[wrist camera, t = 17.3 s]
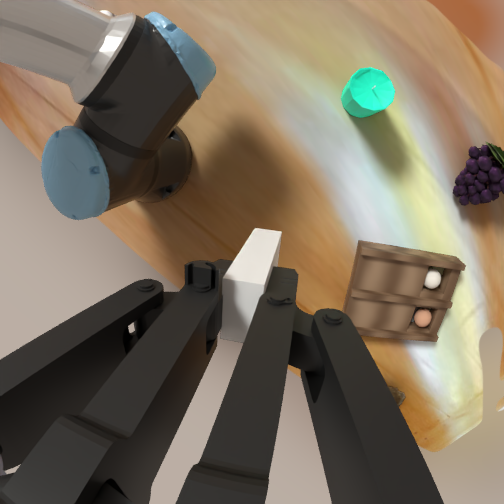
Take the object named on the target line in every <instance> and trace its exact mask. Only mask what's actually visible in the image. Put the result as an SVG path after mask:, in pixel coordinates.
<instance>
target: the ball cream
mask: <svg viewBox="0 0 504 504" xmlns="http://www.w3.org/2000/svg"><path fill="white" fill-rule="evenodd" d="M440 282H441V275H440V273H439V271H438V270H436V269H433V268H431V269H428V272H427V275H426V278H425V281H424V285H425V286H426V287H427V288H430V289H433V288H436V287H437V286H438V285H439V284H440Z"/></svg>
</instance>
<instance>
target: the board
mask: <svg viewBox="0 0 504 504" xmlns="http://www.w3.org/2000/svg"><path fill="white" fill-rule="evenodd" d="M429 266H435V267H441V268H444V271H443V274H442V277H441V282H440V284H439V286H438V287H436V288H433V289H430V288H427V287H426V286H425V285H424V281H425V278H426V275H427V272H428V268H429ZM465 267H466V265H465V264H464V263H463V262H461V261H460V260H459V259H458V258H457V257H455V256H449V255H444V254H438V253H433V252H427V251H421V250H415V249H409V248H404V247H398V246H392V245H385V244H379V243H373V242H367V241H360V240H359V241H358V246H357V251H356V255H355V260H354V265H353V269H352V273H351V278H350V282H349V286H348V290H347V294H346V298H345V302H344V306H343V310H342V312H343V313H345V314H347V315H348V316H349V318H350V319H351V320H352V322H353V324H354V326H355V327H356V329H357V331H358V333H359V334H360V335H362V336H372V337H382V338H393V339H405V340H418V341H433V342H437V340H438V338H439V337H438V336H437V332H438V330H439V327H440V325H441V323H442V320H443V318H444V315H445V313H446V310H447V308H451V307H452V302H451V301H450V300H451V297H452V294H453V292H454V289H455V286H456V283H457V280H458V277H459V274H460V271H461V270H462V271H464V270H465ZM416 307H424V308H431V309H430V313H431V316H432V318H431V322H430V323H429V324H428V325H427V326H425V327H419V326H418V325H416V323H415V322H411V319H412V316H413V314H414V311H415V308H416Z"/></svg>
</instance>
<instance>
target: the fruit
mask: <svg viewBox="0 0 504 504" xmlns="http://www.w3.org/2000/svg"><path fill="white" fill-rule="evenodd" d="M486 143H487V142H486ZM479 149H481V151H480V150H479ZM469 156H470V157H471V158H472V159H469V160H467V161H466V167H465V169H464V171H463V170H462V171H461V172H460V175H458V177H457V178H456V180H455V184H456V186H455V187H454V189H453V194H454V195H455V196H456V197H459V196H461V197H460V199H459V202H460V203H461V205H464V206H465V205H467V204H468V203H469V201H470V202H471V204H474V205H477V204H479V203H480V204H481V203H488V202H491V200H493V201H494V200H495V199H497V198H498V197H499V192H500V191H502V193H503V194H504V151H502V149H501V148H500V147H499V148H498V147H497V146H494V145H492V143H491V144H489V143H487V145H483V146H482V147H481V148H477V147H476V146H474V147H471V148H470V149H469Z"/></svg>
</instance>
